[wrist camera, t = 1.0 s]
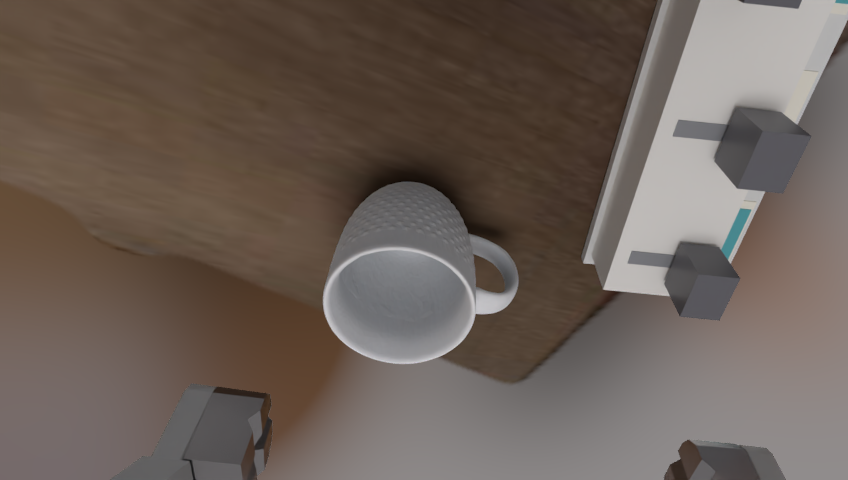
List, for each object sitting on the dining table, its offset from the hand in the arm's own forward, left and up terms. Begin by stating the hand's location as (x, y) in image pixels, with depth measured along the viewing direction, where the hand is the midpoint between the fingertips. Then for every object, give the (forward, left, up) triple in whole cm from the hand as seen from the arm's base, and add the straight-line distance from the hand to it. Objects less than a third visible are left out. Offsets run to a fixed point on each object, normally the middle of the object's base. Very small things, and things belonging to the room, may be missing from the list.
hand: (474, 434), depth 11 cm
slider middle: (+5, +20, -30) cm, 37 cm away
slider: (+16, +20, -30) cm, 40 cm away
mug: (+18, -1, -37) cm, 41 cm away
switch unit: (+5, +20, -37) cm, 42 cm away
